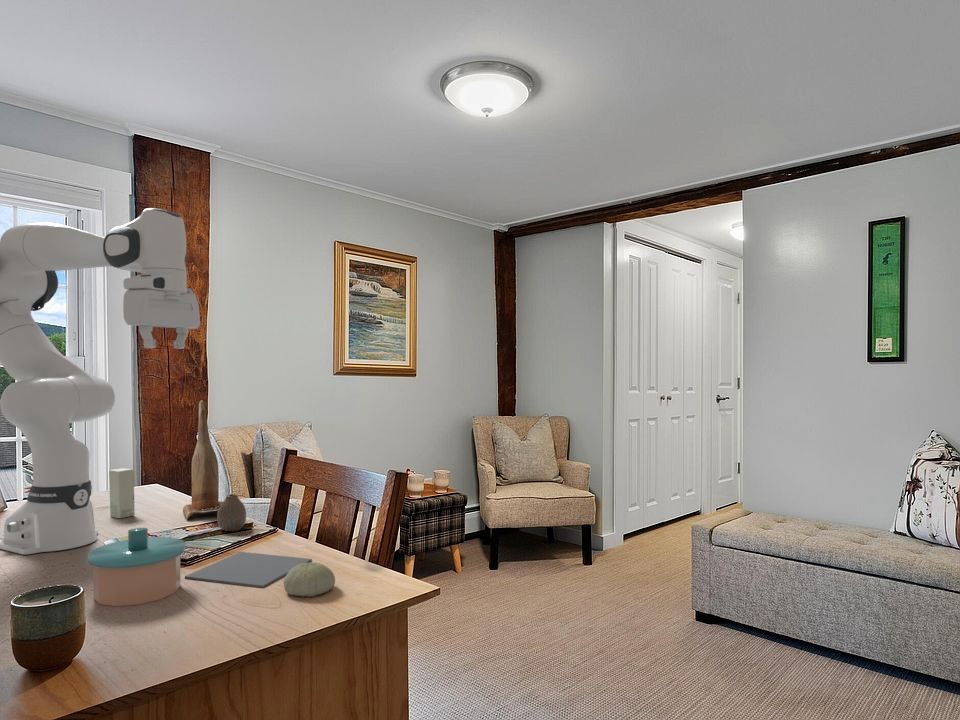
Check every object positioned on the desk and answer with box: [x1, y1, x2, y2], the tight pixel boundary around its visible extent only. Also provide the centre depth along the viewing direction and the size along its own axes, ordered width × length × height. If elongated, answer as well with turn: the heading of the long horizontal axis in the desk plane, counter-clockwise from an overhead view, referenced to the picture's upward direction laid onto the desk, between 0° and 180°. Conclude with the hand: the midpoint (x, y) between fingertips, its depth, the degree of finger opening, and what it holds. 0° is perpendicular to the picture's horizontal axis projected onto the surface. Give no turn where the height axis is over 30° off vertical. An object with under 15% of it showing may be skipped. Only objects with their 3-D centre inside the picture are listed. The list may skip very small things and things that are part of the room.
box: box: [108, 467, 136, 519], centre depth 179 cm, size 5×4×13 cm
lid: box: [87, 527, 186, 568], centre depth 122 cm, size 16×16×4 cm
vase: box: [216, 493, 247, 532], centre depth 165 cm, size 7×7×9 cm
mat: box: [184, 551, 313, 589], centre depth 134 cm, size 18×17×1 cm
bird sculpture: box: [182, 399, 223, 521], centre depth 181 cm, size 11×12×32 cm
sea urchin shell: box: [283, 561, 336, 598], centre depth 122 cm, size 9×8×8 cm
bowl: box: [93, 554, 181, 607], centre depth 122 cm, size 14×14×7 cm
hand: (165, 348), depth 141 cm, fingers open, 8 cm apart
